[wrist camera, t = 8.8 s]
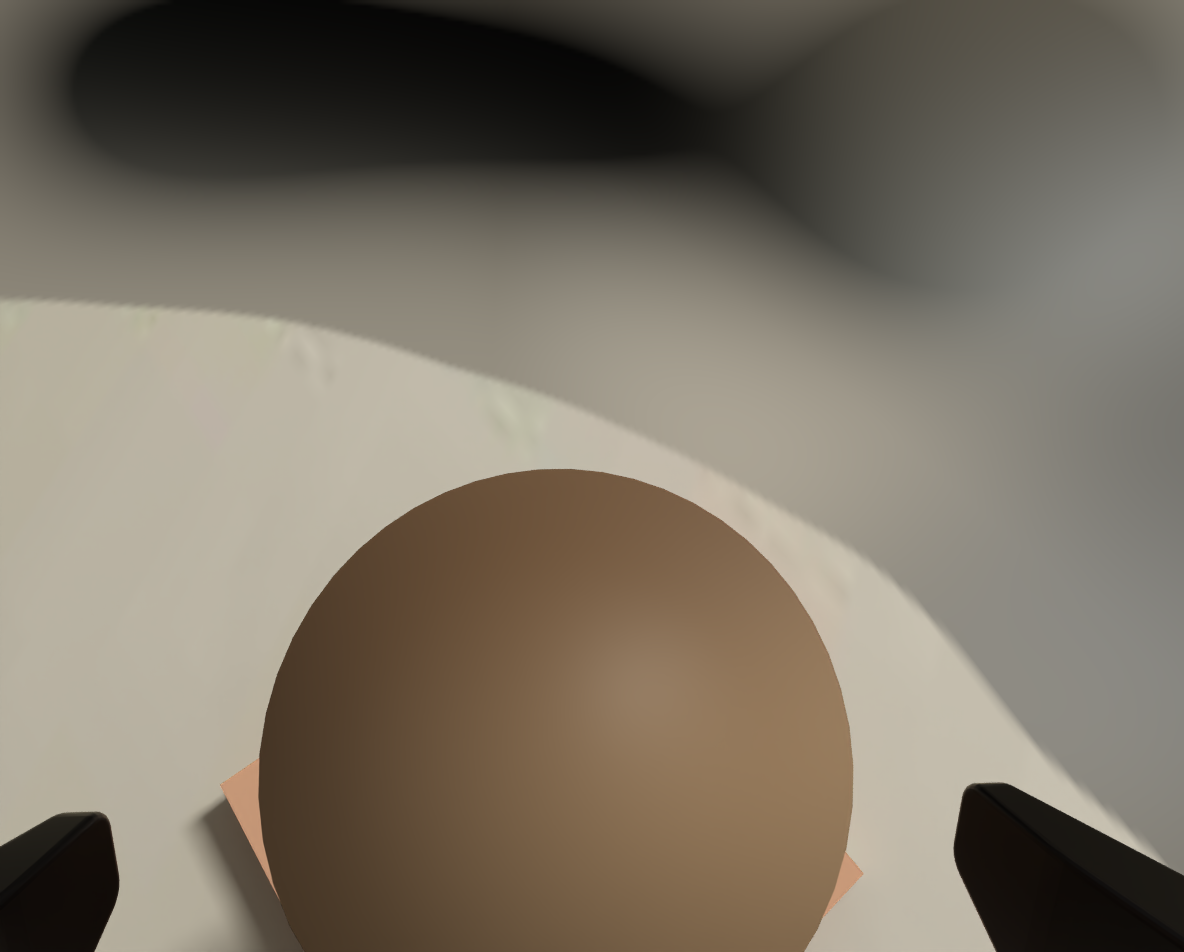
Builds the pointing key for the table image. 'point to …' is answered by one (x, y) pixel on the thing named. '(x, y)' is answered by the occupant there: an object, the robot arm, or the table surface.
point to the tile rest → (246, 808)
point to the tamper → (556, 734)
